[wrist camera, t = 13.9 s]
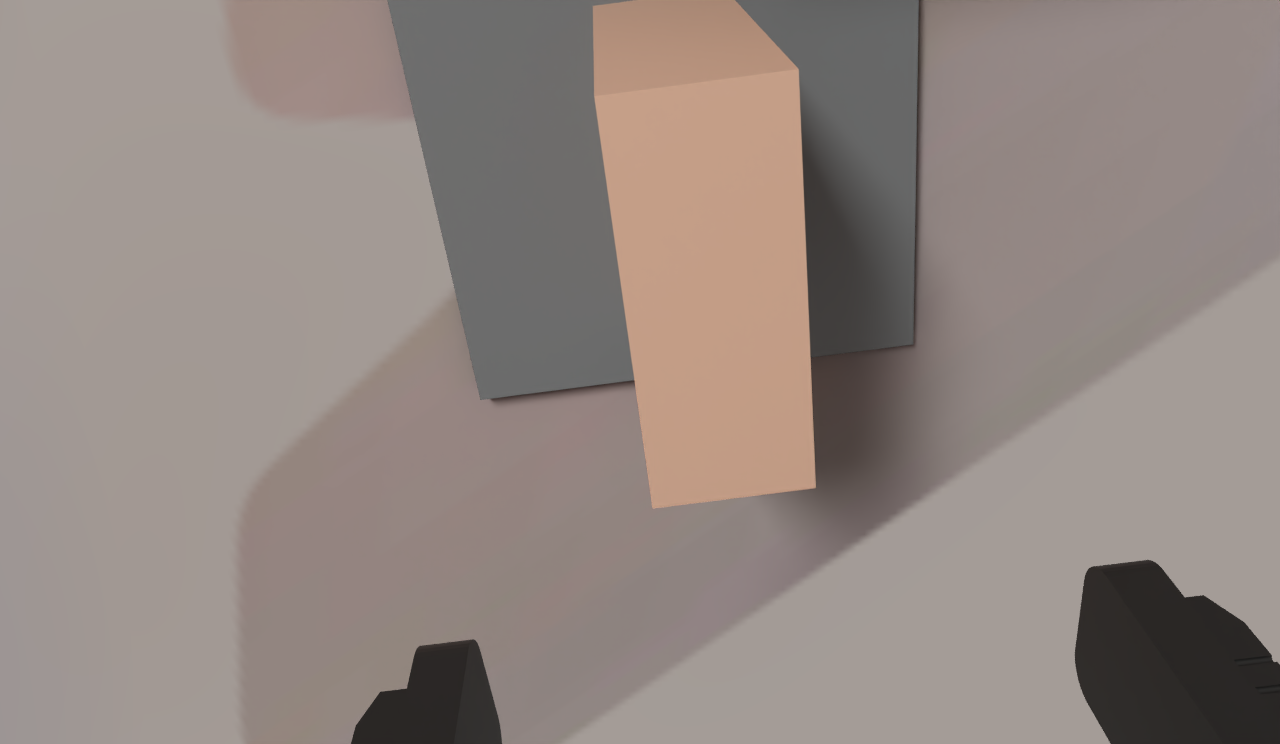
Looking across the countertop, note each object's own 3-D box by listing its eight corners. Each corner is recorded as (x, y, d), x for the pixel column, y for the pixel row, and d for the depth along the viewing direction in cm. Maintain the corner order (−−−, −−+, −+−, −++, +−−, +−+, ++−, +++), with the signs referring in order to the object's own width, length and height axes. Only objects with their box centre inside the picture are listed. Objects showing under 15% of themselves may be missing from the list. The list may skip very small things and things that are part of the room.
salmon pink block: (724, -12, 29) (798, 69, 19) (746, 289, 34) (816, 487, 24) (592, 5, 29) (594, 96, 19) (633, 304, 34) (652, 508, 24)
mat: (916, -149, 28) (920, -149, 28) (909, 338, 36) (913, 344, 35) (373, -75, 29) (370, -73, 28) (481, 393, 36) (480, 399, 36)
